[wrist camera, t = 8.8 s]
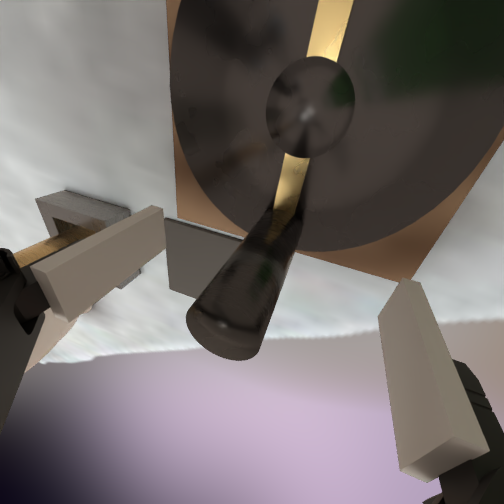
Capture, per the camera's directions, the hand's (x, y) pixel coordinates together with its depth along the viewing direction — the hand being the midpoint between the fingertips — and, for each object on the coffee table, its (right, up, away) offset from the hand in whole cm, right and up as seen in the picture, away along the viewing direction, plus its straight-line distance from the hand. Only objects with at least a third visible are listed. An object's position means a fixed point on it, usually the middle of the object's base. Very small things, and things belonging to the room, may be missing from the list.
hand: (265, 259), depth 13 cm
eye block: (-18, +2, +14) cm, 23 cm away
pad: (-5, -1, +11) cm, 13 cm away
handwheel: (+3, +8, 0) cm, 9 cm away
